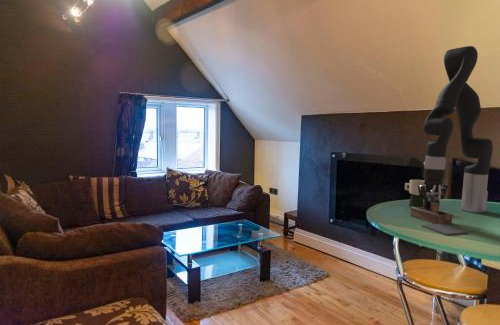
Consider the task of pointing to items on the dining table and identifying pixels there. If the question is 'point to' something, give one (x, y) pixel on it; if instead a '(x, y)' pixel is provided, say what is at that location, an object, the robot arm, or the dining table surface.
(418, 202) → the character mug
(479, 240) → the dining table surface
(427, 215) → the holder
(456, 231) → the mat
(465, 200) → the robot arm
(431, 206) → the lighter
